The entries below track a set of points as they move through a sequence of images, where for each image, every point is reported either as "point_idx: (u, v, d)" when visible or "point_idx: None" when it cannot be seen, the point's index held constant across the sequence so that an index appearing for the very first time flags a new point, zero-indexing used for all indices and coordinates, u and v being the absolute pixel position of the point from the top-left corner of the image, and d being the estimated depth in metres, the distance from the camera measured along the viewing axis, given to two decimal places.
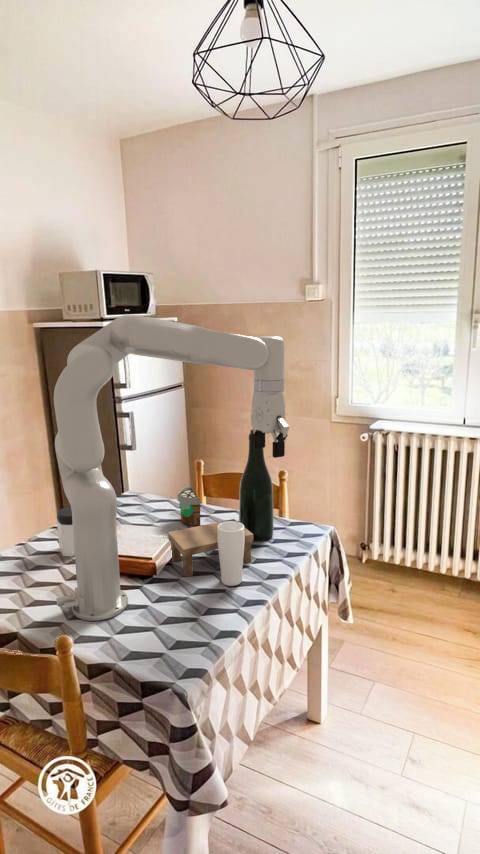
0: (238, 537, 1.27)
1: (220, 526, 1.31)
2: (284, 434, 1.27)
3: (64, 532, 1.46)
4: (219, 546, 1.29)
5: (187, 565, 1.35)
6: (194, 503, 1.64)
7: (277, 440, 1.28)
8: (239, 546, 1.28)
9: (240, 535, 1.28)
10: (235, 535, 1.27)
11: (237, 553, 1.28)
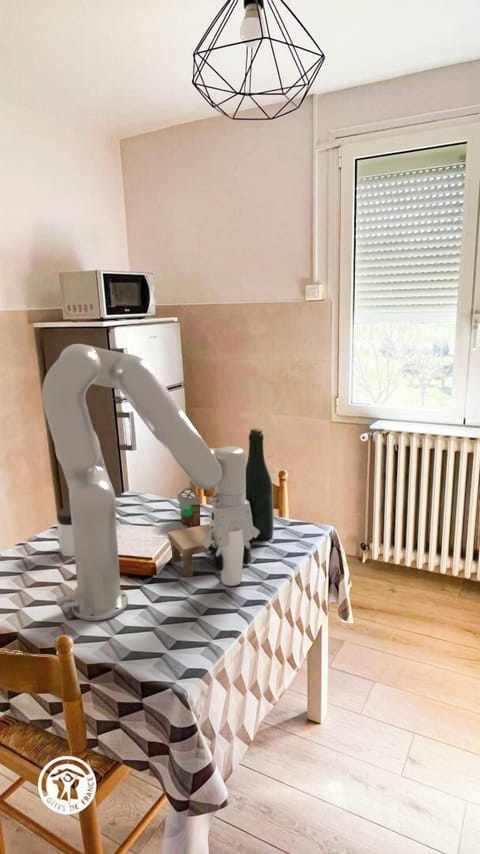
0: (238, 537, 1.27)
1: None
2: None
3: (64, 533, 1.46)
4: None
5: (187, 565, 1.35)
6: (194, 503, 1.64)
7: None
8: (239, 546, 1.28)
9: (240, 535, 1.28)
10: (235, 535, 1.27)
11: (237, 553, 1.28)
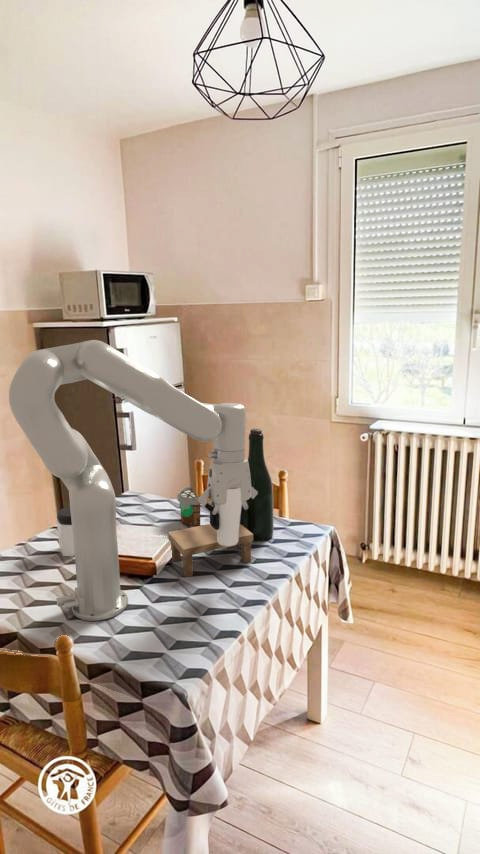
0: (235, 496, 1.25)
1: None
2: None
3: (64, 533, 1.46)
4: None
5: (187, 565, 1.35)
6: (194, 503, 1.64)
7: None
8: (236, 505, 1.25)
9: (238, 493, 1.25)
10: (233, 493, 1.24)
11: (234, 512, 1.26)
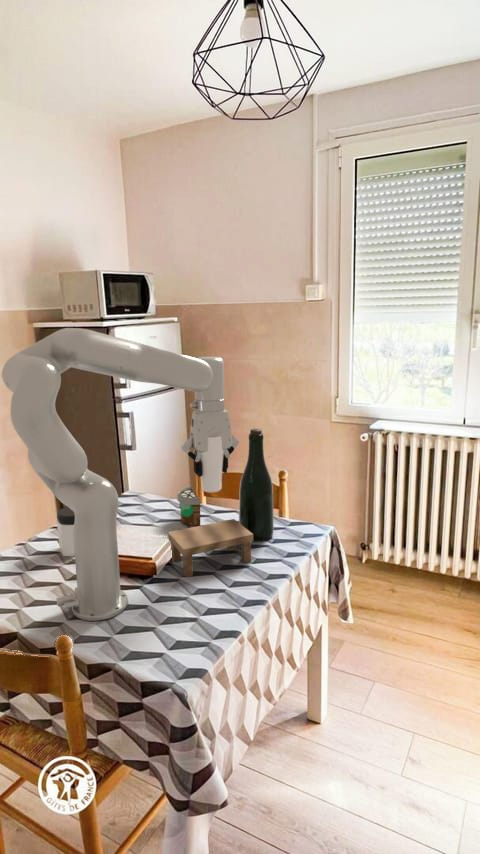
0: (216, 443, 1.33)
1: None
2: None
3: (64, 533, 1.46)
4: None
5: (187, 565, 1.35)
6: (194, 503, 1.64)
7: None
8: (218, 452, 1.33)
9: (219, 441, 1.33)
10: (214, 441, 1.32)
11: (216, 459, 1.34)
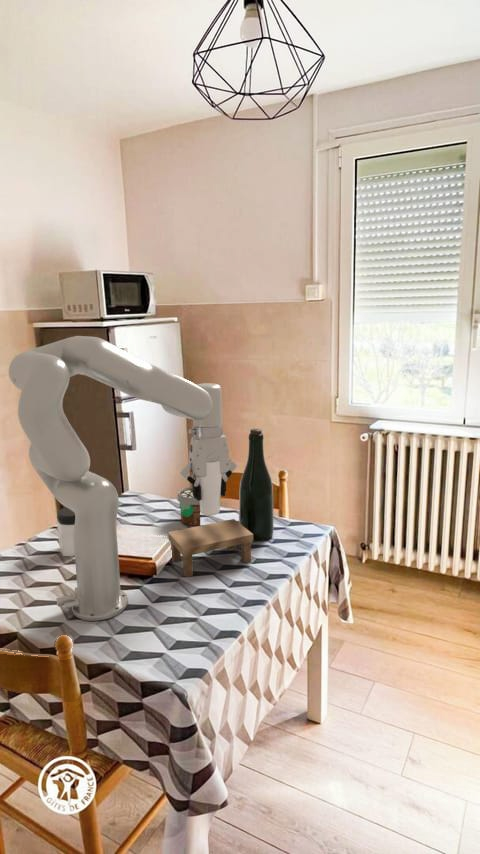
0: (215, 468, 1.35)
1: None
2: None
3: (64, 533, 1.46)
4: None
5: (187, 565, 1.35)
6: (194, 503, 1.64)
7: None
8: (216, 477, 1.36)
9: (217, 466, 1.36)
10: (213, 466, 1.35)
11: (214, 483, 1.36)
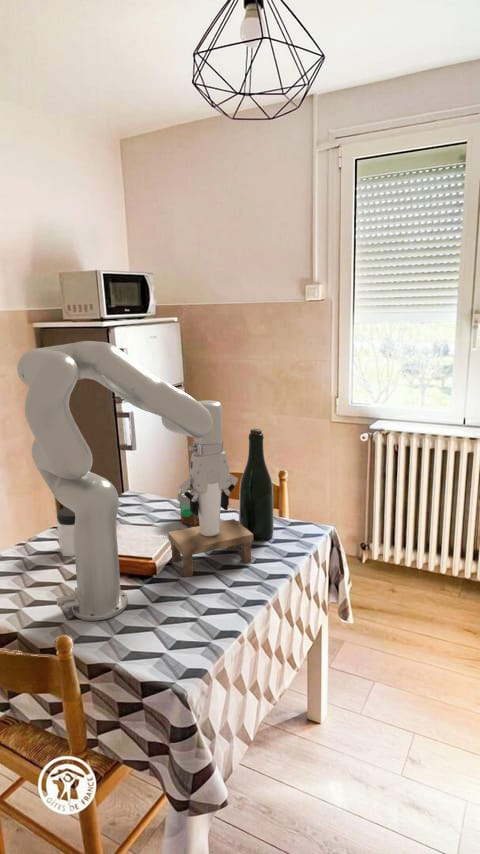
0: (214, 490, 1.37)
1: None
2: None
3: (64, 533, 1.46)
4: (197, 498, 1.38)
5: (187, 565, 1.35)
6: None
7: None
8: (216, 498, 1.37)
9: (217, 487, 1.37)
10: (212, 487, 1.36)
11: (214, 505, 1.38)
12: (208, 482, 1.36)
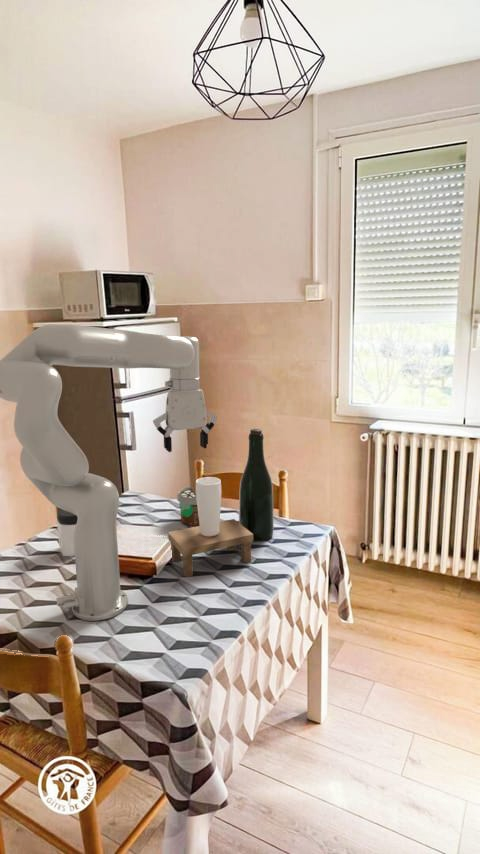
0: (214, 490, 1.36)
1: (198, 480, 1.40)
2: None
3: (64, 533, 1.46)
4: (197, 499, 1.38)
5: (187, 565, 1.35)
6: (194, 503, 1.64)
7: None
8: (216, 499, 1.37)
9: (217, 488, 1.37)
10: (212, 488, 1.36)
11: (214, 505, 1.37)
12: (183, 418, 1.35)
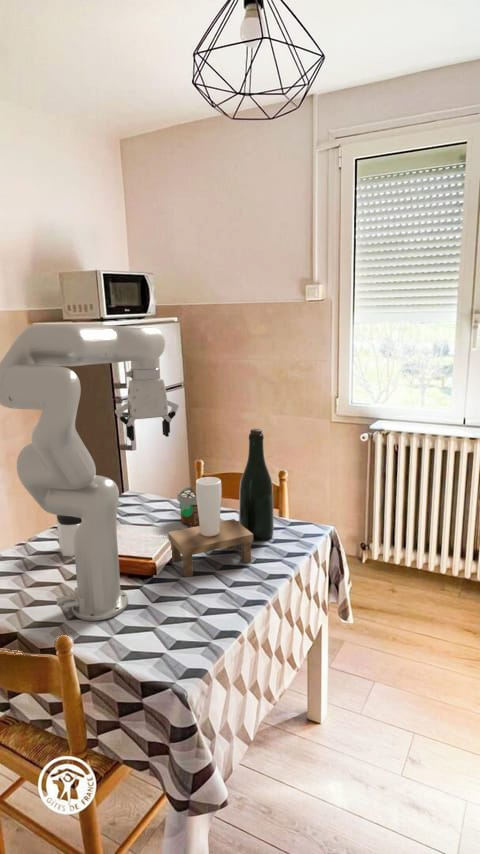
0: (214, 490, 1.36)
1: (198, 480, 1.40)
2: None
3: (64, 533, 1.46)
4: (197, 499, 1.38)
5: (187, 565, 1.35)
6: (194, 503, 1.64)
7: None
8: (216, 499, 1.37)
9: (217, 488, 1.37)
10: (212, 488, 1.36)
11: (214, 505, 1.37)
12: (145, 408, 1.38)
